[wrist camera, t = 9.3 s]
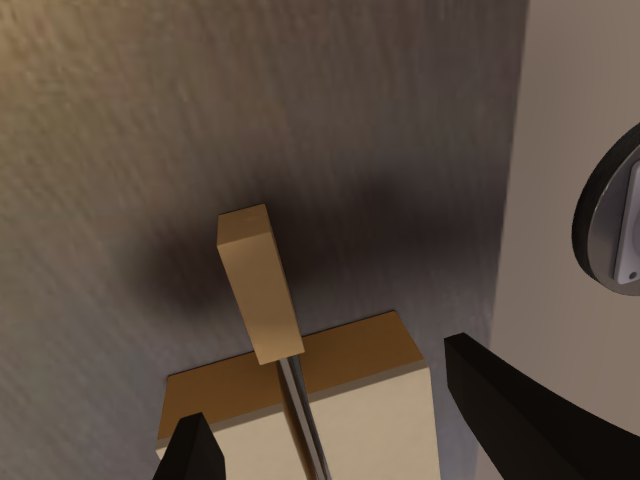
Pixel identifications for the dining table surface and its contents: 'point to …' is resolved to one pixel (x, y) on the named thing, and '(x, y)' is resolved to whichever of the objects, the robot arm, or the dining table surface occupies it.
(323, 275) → the dining table surface
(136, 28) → the dining table surface
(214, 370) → the sponge cake
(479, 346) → the robot arm
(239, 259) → the knife
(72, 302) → the dining table surface
